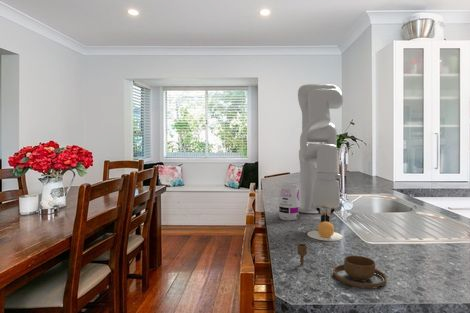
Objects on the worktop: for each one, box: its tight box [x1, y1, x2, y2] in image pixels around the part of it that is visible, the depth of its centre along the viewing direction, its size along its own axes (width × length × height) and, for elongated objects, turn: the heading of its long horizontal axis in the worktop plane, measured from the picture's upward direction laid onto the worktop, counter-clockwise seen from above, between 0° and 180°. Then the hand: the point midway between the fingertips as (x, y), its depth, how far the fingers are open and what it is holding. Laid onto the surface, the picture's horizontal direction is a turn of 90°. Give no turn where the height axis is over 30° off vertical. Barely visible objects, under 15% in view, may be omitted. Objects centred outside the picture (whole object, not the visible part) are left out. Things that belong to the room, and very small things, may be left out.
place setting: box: [297, 243, 388, 289], centre depth 80 cm, size 18×20×6 cm
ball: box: [317, 221, 335, 238], centre depth 110 cm, size 6×6×6 cm
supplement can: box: [278, 182, 300, 222], centre depth 137 cm, size 8×8×15 cm
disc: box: [307, 230, 344, 242], centre depth 112 cm, size 12×12×1 cm
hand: (324, 225), depth 121 cm, fingers closed
